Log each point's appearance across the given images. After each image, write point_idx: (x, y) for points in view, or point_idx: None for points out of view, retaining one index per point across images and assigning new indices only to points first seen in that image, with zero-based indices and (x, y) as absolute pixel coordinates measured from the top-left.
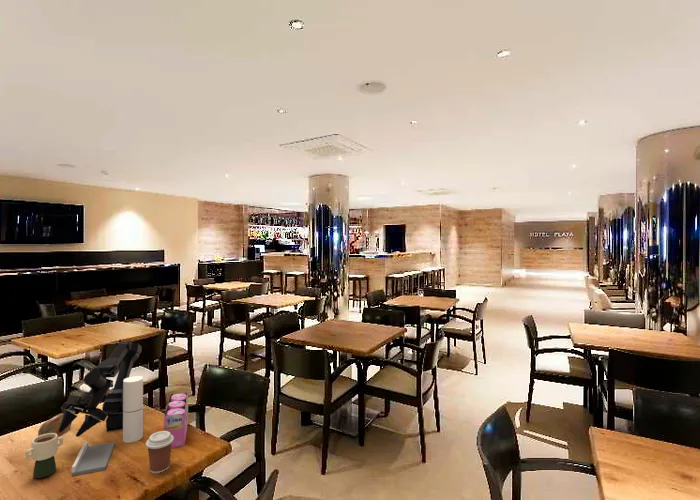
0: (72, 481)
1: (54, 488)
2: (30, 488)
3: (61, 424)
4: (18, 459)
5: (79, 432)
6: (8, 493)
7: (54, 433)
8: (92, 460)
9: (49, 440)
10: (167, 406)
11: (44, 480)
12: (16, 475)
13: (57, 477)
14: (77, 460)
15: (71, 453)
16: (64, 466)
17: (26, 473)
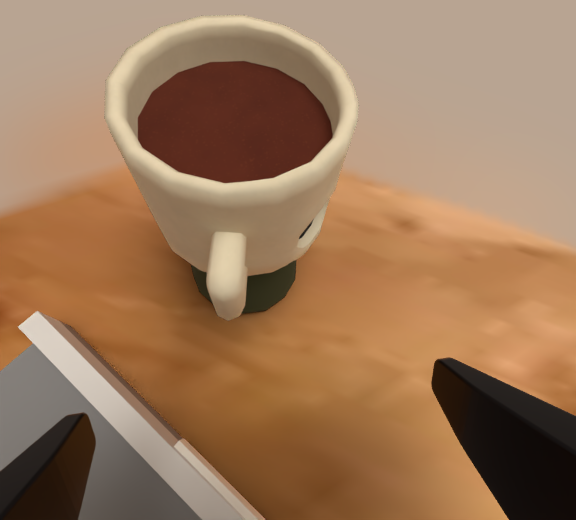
0: (16, 301)
1: (60, 229)
2: None
3: (525, 402)
4: (527, 275)
5: (21, 466)
6: None
7: (252, 186)
8: None
9: (111, 80)
10: None
11: None
12: (360, 207)
13: (146, 283)
14: (81, 382)
15: (358, 479)
16: (226, 362)
17: (339, 233)
